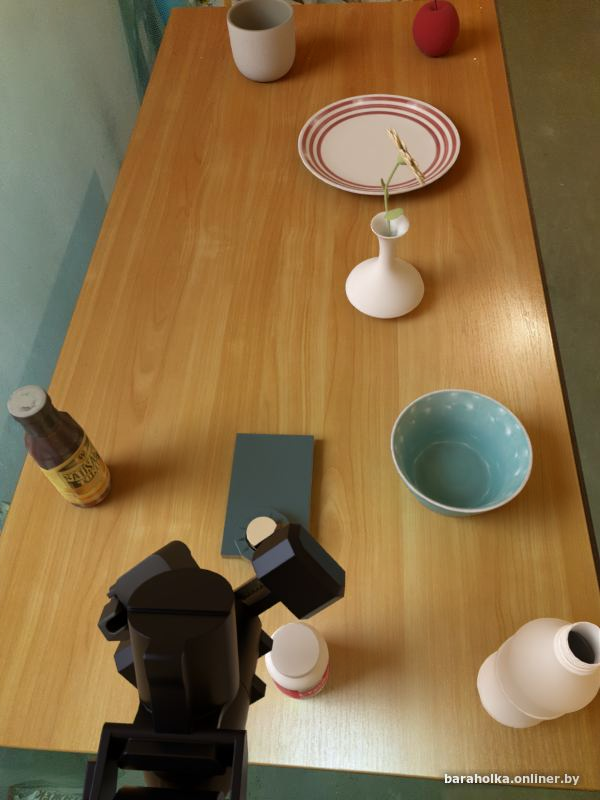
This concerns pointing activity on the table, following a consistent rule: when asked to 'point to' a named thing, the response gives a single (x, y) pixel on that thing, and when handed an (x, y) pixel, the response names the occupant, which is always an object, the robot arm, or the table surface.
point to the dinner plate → (377, 143)
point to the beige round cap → (260, 529)
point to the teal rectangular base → (267, 486)
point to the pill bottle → (298, 660)
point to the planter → (262, 38)
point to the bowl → (461, 452)
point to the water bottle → (541, 672)
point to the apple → (436, 27)
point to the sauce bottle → (60, 447)
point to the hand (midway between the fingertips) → (243, 552)
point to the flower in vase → (388, 258)
